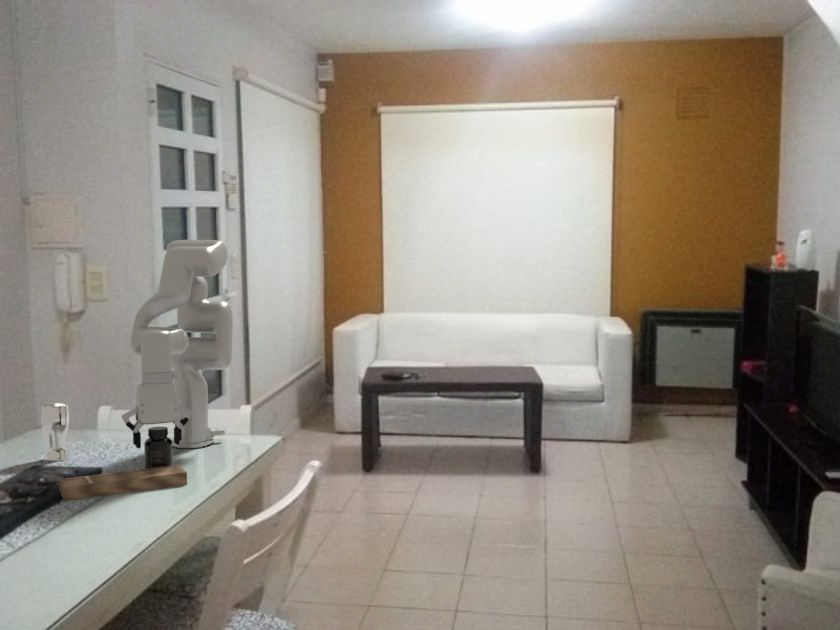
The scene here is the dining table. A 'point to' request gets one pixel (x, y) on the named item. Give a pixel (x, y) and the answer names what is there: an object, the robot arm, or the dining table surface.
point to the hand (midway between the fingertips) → (157, 445)
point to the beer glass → (55, 430)
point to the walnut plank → (122, 482)
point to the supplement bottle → (158, 448)
